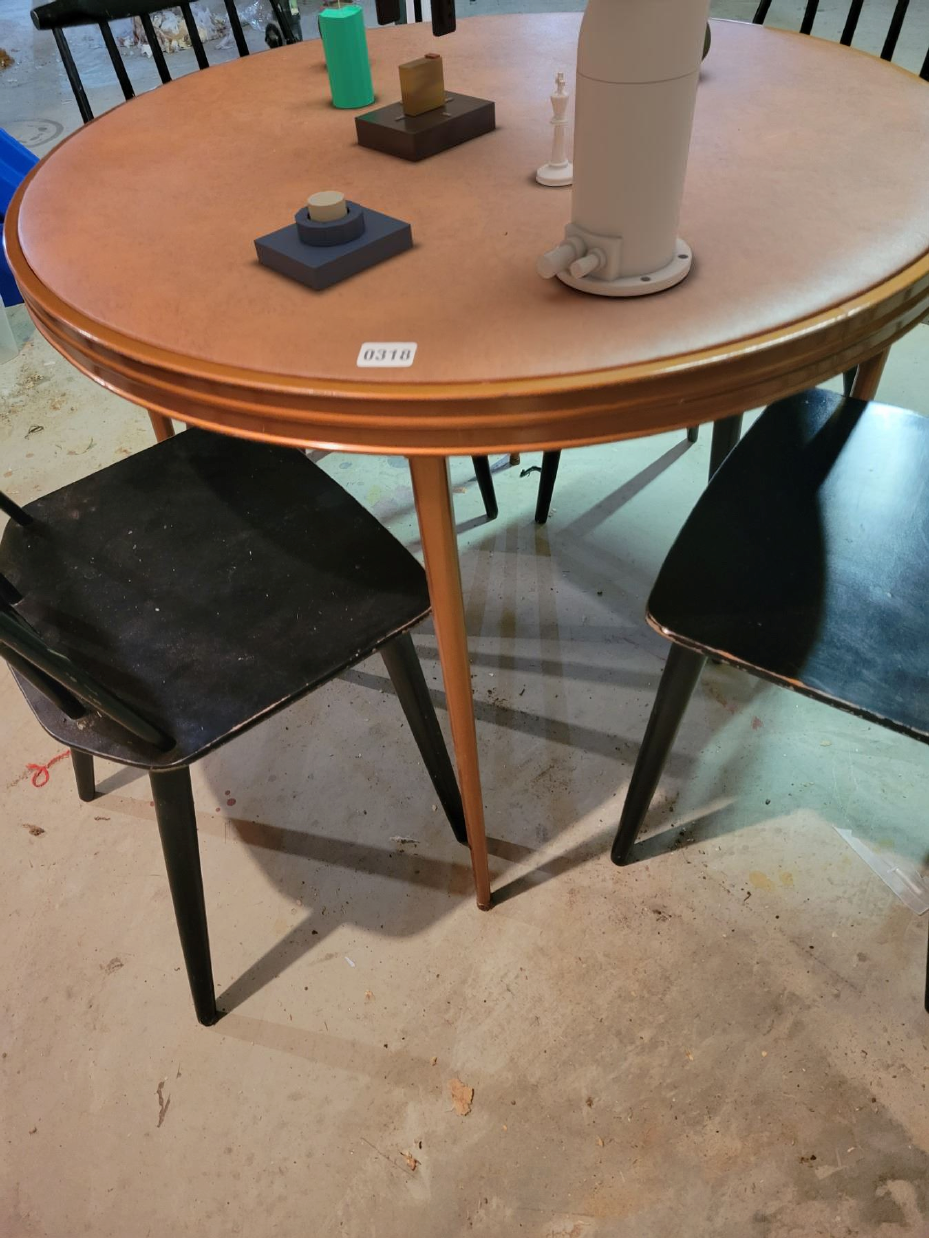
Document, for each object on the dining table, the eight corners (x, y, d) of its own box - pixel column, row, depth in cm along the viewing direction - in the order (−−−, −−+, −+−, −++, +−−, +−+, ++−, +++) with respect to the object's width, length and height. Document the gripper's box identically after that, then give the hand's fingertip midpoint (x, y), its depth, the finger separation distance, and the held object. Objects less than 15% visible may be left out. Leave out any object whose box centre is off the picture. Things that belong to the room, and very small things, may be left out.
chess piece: (545, 189, 85) (546, 82, 77) (530, 174, 88) (529, 70, 81) (586, 181, 86) (592, 74, 78) (570, 167, 89) (574, 63, 81)
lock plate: (415, 162, 93) (412, 132, 91) (358, 144, 99) (353, 116, 96) (495, 128, 99) (494, 100, 97) (437, 113, 105) (435, 86, 102)
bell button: (325, 228, 73) (321, 208, 72) (303, 219, 75) (299, 199, 74) (355, 215, 75) (351, 196, 73) (332, 206, 76) (328, 187, 75)
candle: (380, 95, 112) (366, -10, 103) (366, 109, 108) (350, 1, 99) (342, 95, 113) (325, -9, 104) (326, 108, 109) (308, 2, 100)
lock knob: (414, 116, 95) (408, 65, 91) (403, 113, 96) (397, 63, 92) (445, 104, 97) (442, 54, 93) (434, 102, 98) (430, 52, 94)
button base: (318, 291, 72) (309, 248, 69) (259, 262, 77) (247, 221, 74) (413, 246, 77) (408, 204, 74) (351, 222, 83) (344, 181, 80)
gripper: (316, -176, 80) (345, 26, 93) (428, -176, 72) (443, 47, 85) (371, -185, 84) (392, 12, 97) (485, -185, 75) (491, 31, 88)
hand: (416, 28), depth 91 cm, fingers open, 9 cm apart
